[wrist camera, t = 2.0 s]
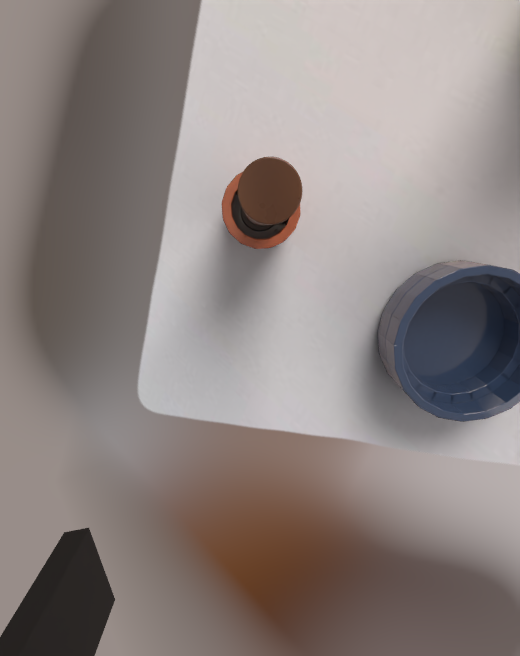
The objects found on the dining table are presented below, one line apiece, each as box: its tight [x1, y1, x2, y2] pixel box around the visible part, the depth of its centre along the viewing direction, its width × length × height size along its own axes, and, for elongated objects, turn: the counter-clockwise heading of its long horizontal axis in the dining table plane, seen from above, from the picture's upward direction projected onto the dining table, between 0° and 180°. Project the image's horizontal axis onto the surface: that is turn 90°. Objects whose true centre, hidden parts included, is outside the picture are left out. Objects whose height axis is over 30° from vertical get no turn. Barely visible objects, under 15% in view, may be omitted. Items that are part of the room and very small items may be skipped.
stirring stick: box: [238, 157, 302, 231], centre depth 27 cm, size 3×3×24 cm
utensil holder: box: [222, 172, 300, 249], centre depth 35 cm, size 6×6×9 cm
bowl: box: [378, 260, 520, 421], centre depth 39 cm, size 15×15×6 cm
